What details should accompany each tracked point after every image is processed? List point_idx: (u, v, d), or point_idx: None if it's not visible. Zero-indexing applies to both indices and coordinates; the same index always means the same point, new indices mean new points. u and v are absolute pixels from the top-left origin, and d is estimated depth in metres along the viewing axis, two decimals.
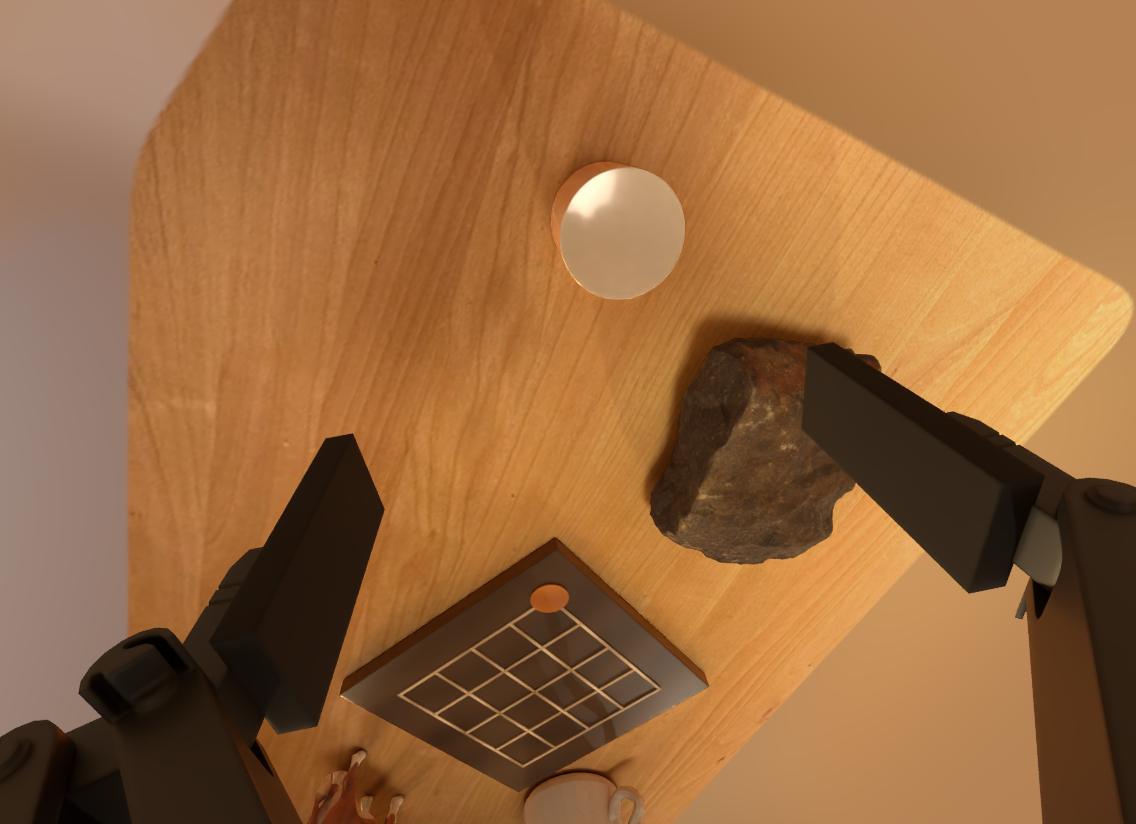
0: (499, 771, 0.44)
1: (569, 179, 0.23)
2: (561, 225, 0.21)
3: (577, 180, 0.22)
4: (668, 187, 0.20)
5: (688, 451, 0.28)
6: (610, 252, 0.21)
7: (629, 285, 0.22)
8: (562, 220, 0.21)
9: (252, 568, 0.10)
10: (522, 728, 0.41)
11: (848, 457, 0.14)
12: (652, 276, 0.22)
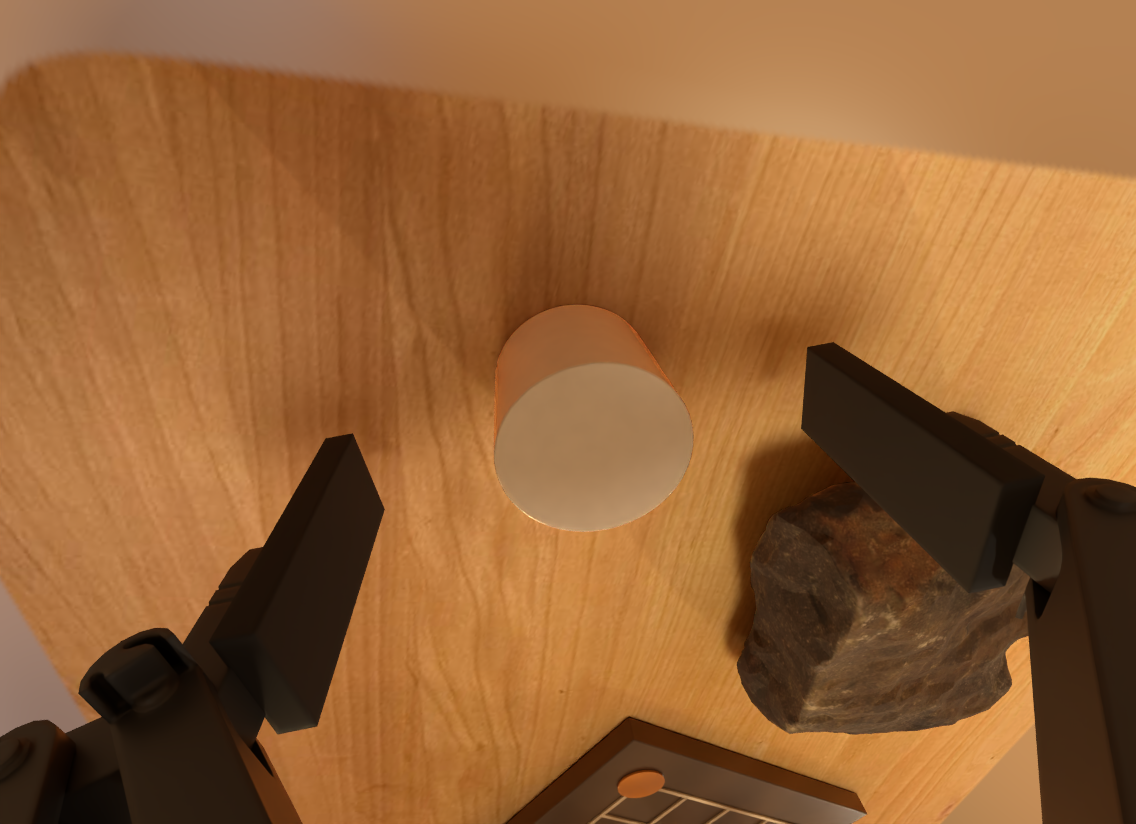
0: None
1: (503, 354, 0.16)
2: (496, 467, 0.13)
3: (507, 377, 0.14)
4: (644, 372, 0.12)
5: (776, 634, 0.20)
6: (583, 478, 0.14)
7: (626, 506, 0.14)
8: (495, 462, 0.13)
9: (252, 568, 0.10)
10: None
11: (848, 456, 0.14)
12: (657, 487, 0.14)
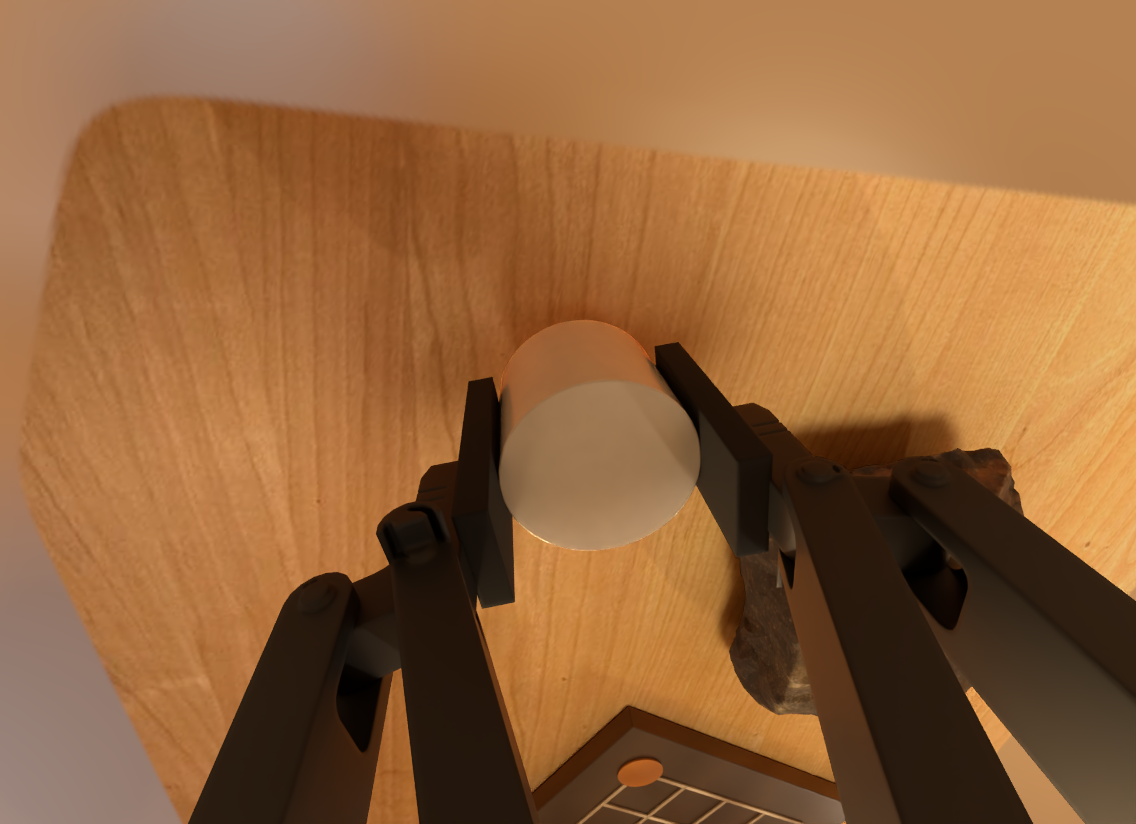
0: None
1: (508, 370, 0.16)
2: (500, 486, 0.13)
3: (512, 394, 0.14)
4: (652, 390, 0.12)
5: (763, 618, 0.22)
6: (589, 496, 0.13)
7: (633, 525, 0.14)
8: (499, 480, 0.13)
9: (458, 470, 0.12)
10: None
11: None
12: (664, 506, 0.14)
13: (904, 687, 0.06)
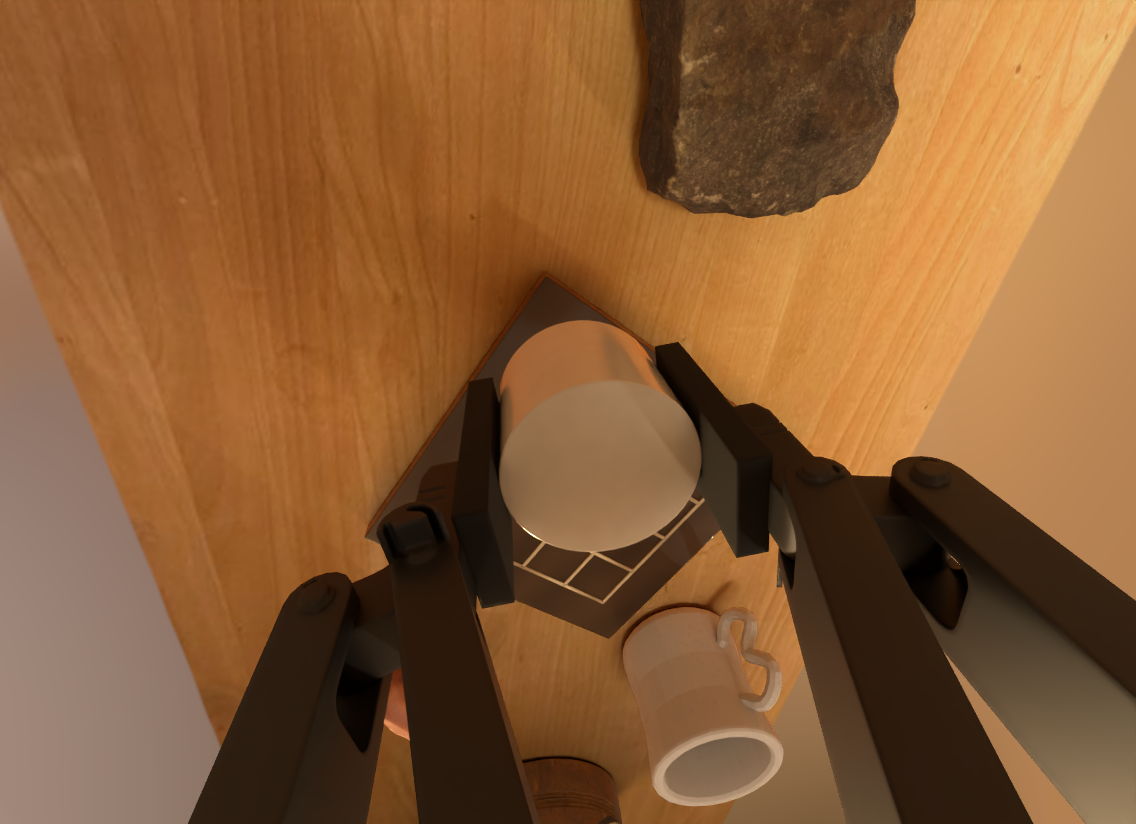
0: (578, 613, 0.38)
1: (508, 370, 0.16)
2: (500, 487, 0.13)
3: (512, 394, 0.14)
4: (652, 391, 0.12)
5: (659, 32, 0.20)
6: (589, 498, 0.13)
7: (633, 526, 0.14)
8: (499, 481, 0.13)
9: (458, 470, 0.12)
10: None
11: None
12: (665, 507, 0.14)
13: (904, 687, 0.06)
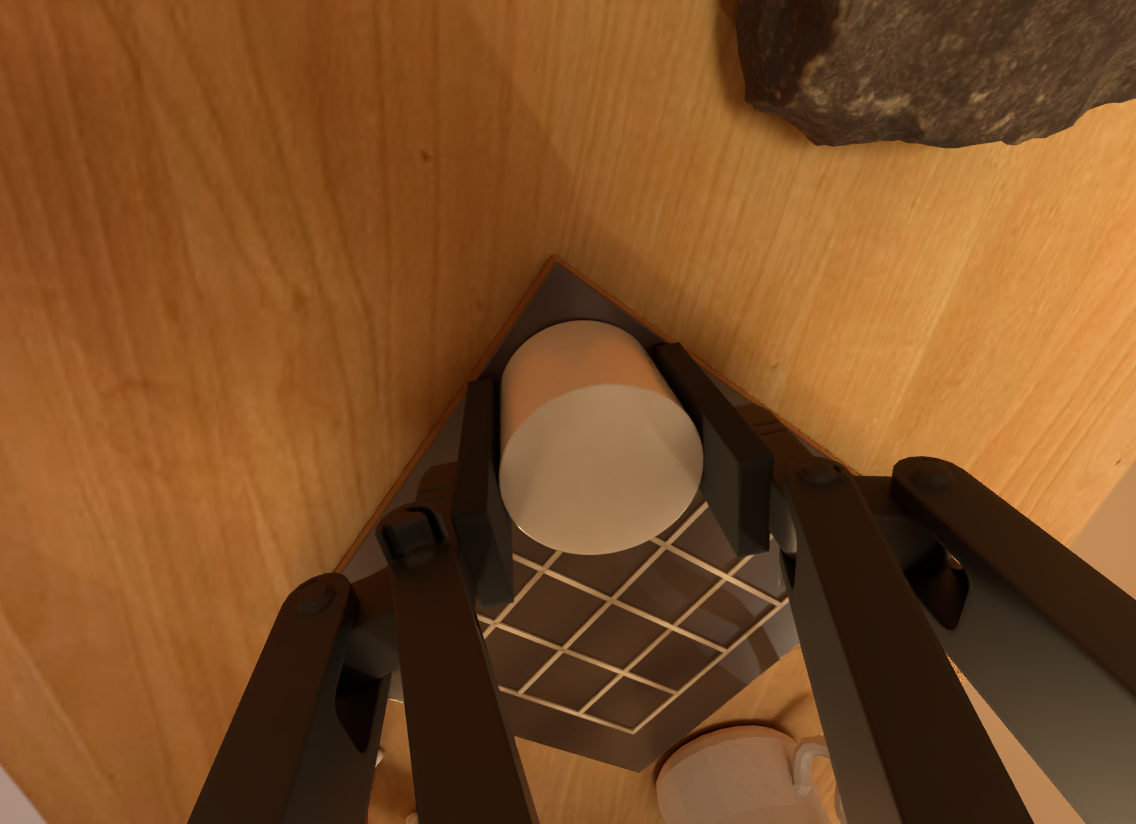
0: (597, 746, 0.27)
1: (508, 371, 0.15)
2: (500, 490, 0.13)
3: (512, 396, 0.14)
4: (654, 394, 0.12)
5: None
6: (590, 501, 0.13)
7: (634, 529, 0.14)
8: (499, 485, 0.13)
9: (457, 470, 0.12)
10: (611, 670, 0.24)
11: None
12: (666, 510, 0.14)
13: (905, 687, 0.06)
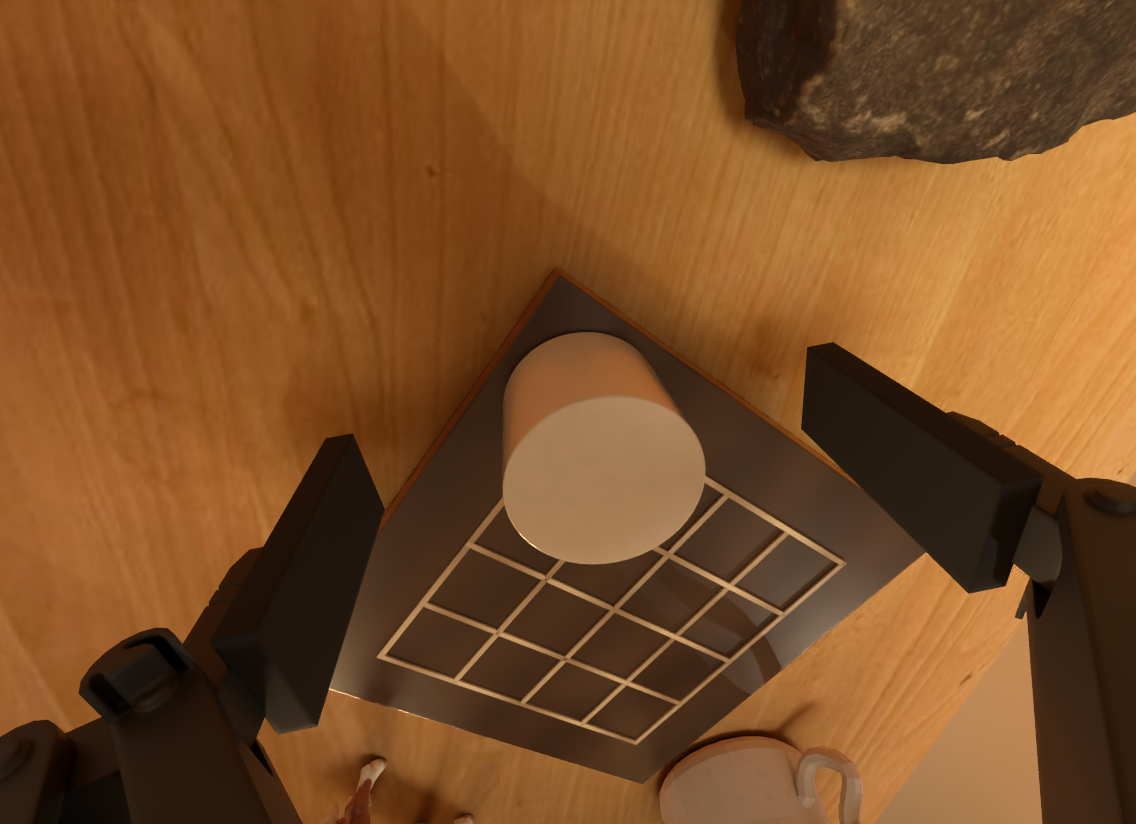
0: (600, 756, 0.27)
1: (512, 382, 0.16)
2: (504, 500, 0.13)
3: (516, 407, 0.14)
4: (656, 405, 0.12)
5: None
6: (593, 511, 0.13)
7: (637, 539, 0.14)
8: (503, 495, 0.13)
9: (252, 568, 0.10)
10: (614, 679, 0.24)
11: (848, 456, 0.14)
12: (669, 519, 0.14)
13: None
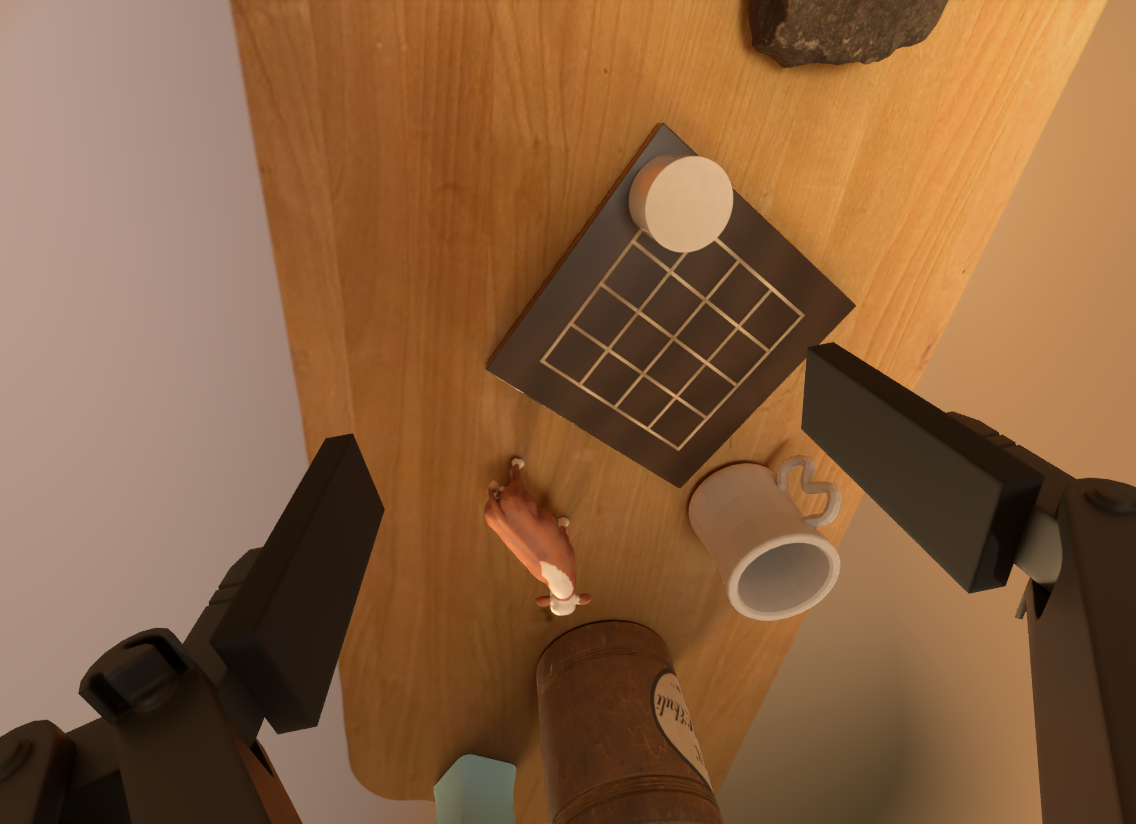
0: (656, 460, 0.44)
1: (638, 176, 0.32)
2: (645, 210, 0.30)
3: (647, 176, 0.31)
4: (714, 163, 0.29)
5: None
6: (682, 219, 0.30)
7: (700, 238, 0.31)
8: (645, 207, 0.30)
9: (252, 568, 0.10)
10: (669, 393, 0.41)
11: (848, 456, 0.14)
12: (715, 227, 0.31)
13: None
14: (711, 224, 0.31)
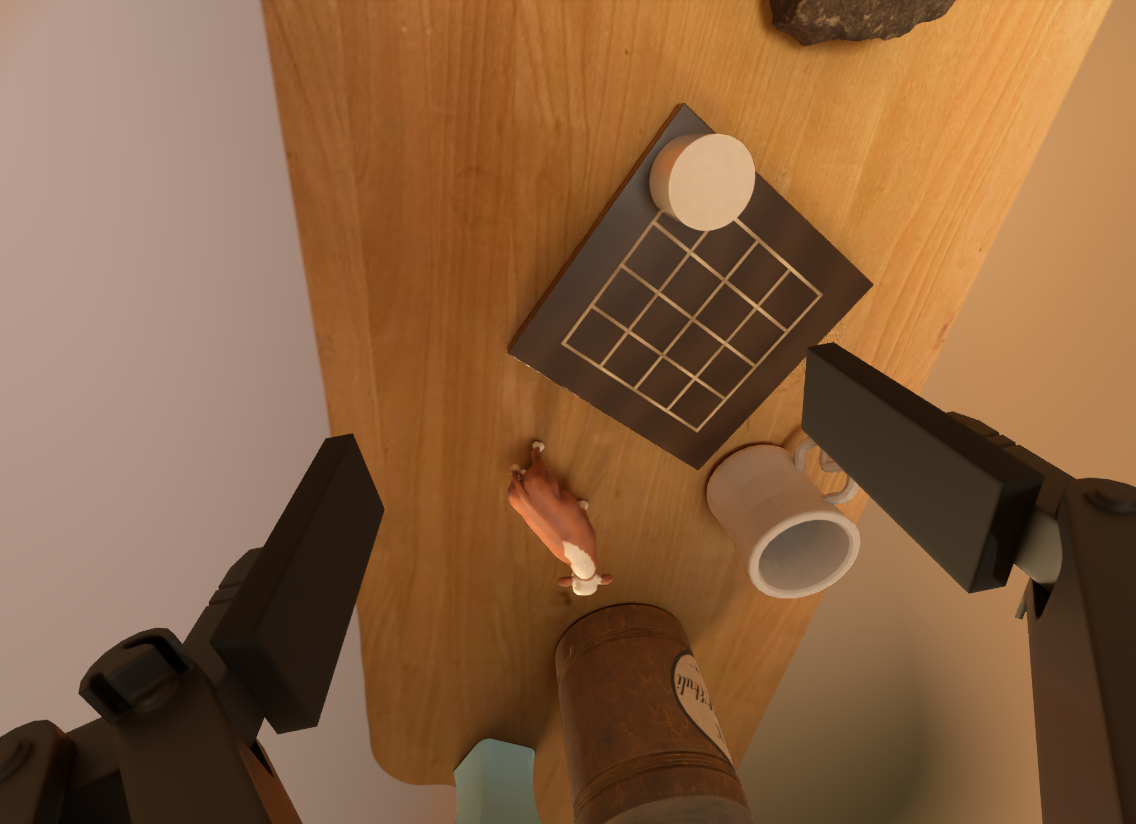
0: (674, 441, 0.44)
1: (659, 156, 0.33)
2: (668, 189, 0.30)
3: (669, 155, 0.31)
4: (736, 140, 0.29)
5: None
6: (705, 197, 0.31)
7: (723, 216, 0.31)
8: (668, 185, 0.30)
9: (252, 568, 0.10)
10: (688, 375, 0.41)
11: (849, 456, 0.14)
12: (737, 205, 0.31)
13: None
14: (733, 202, 0.31)
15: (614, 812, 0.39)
